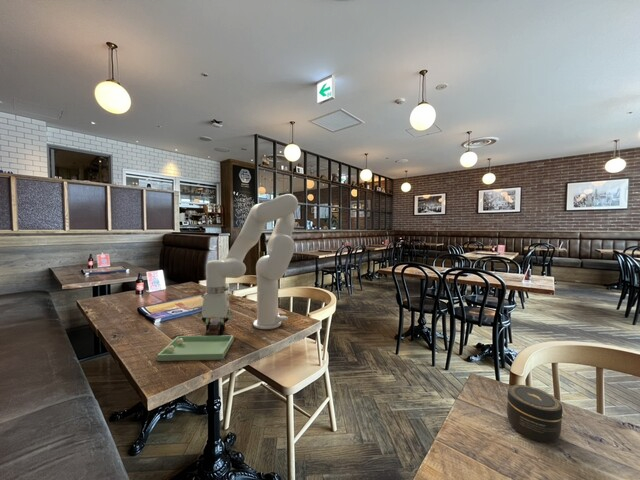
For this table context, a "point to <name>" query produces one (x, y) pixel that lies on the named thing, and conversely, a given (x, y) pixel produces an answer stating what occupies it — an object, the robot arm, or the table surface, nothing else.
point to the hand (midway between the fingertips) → (215, 332)
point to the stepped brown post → (214, 328)
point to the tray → (197, 348)
